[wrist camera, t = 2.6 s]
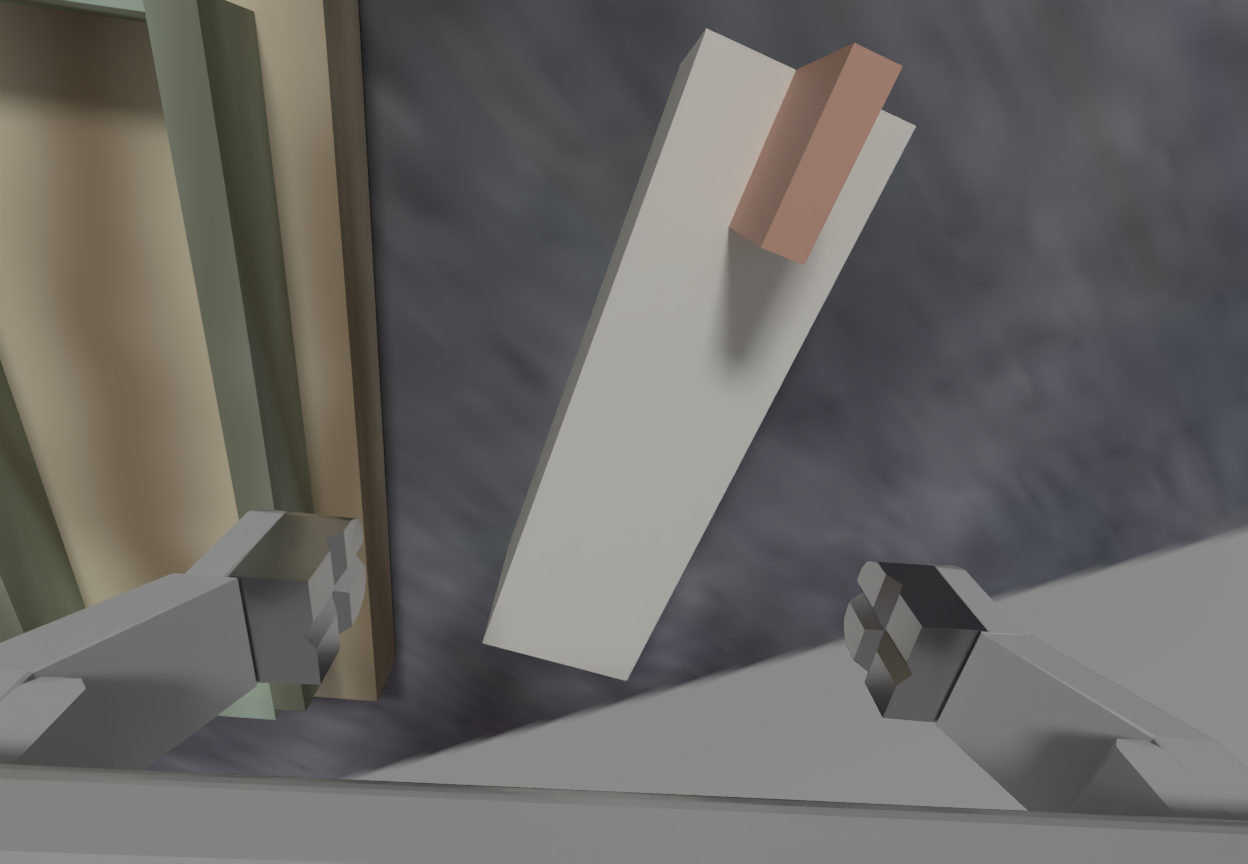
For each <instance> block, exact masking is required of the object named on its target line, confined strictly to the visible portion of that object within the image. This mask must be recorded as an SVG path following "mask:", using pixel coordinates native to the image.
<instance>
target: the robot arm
mask: <svg viewBox="0 0 1248 864" xmlns="http://www.w3.org/2000/svg"><path fill="white" fill-rule="evenodd" d="M362 544H363V533H362V524H361V523H360V522H359V520H358V519H357V518H348V517H338V516H329V515H319V514H309V513H299V512H287V511H278V510H266V509H255V510H251V511H248V512H247V513H246V514H245V515H244V516H243V517H242V518H241V519H240V520H239V521H238V522H237V523H236V524H235V525H234V526H233V527H232V528H231V529H230V530H229V531H228V532H227V533H226V534H225V535H224V536H222V537H221V538H220V539H219V540H218V541H217V542H216V543H215V544H214V545H213V546H212V547H211V548H210V549H209V550H208V551H207V552H206V553H205V554H204V555H203V556H202V557H201V558H200V559H199V560H198V561H197V562H196V563H195V564H194V565H193V566H192V567H191V568H190V569H189V570H188V571H187V572H186V573H185V574H178V573H172V574H169V575H167V576H164V577H162V578H159V579H157V580H154V581H152V582H150V583H147V584H145V585H142V586H140V587H137V588H135V589H132V590H130V591H127V592H125V593H122V594H120V595H117V596H115V597H112V598H110V599H108V600H105V601H103V602H100V603H98V604H95V605H93V606H90V607H88V608H85V609H83V610H80V611H78V612H75V613H73V614H70V615H68V616H66V617H63V618H61V619H58V620H56V621H53V622H51V623H48V624H46V625H43V626H41V627H38V628H36V629H33V630H31V631H28V632H26V633H24V634H21V635H19V636H16V637H14V638H11V639H9V640H6V641H4V642H1V643H0V864H1248V768H1247V767H1246V766H1245V765H1244V764H1243V763H1241V762H1240V761H1239V760H1238V759H1237V758H1236V757H1235V756H1234V755H1233V754H1232V753H1231V752H1230V751H1229V750H1228V749H1227V748H1225V747H1224V746H1223V745H1222V744H1221V743H1220V742H1218V741H1217V740H1215V739H1213V738H1211V737H1210V736H1208V735H1206V734H1204V733H1202V732H1201V731H1199V730H1197V729H1196V728H1194V727H1192V726H1190V725H1189V724H1187V723H1185V722H1183V721H1181V720H1180V719H1178V718H1176V717H1175V716H1173V715H1171V714H1169V713H1168V712H1166V711H1164V710H1162V709H1160V708H1159V707H1157V706H1155V705H1153V704H1152V703H1150V702H1148V701H1146V700H1145V699H1143V698H1141V697H1139V696H1138V695H1136V694H1134V693H1132V692H1131V691H1129V690H1127V689H1125V688H1124V687H1122V686H1120V685H1118V684H1117V683H1115V682H1113V681H1111V680H1110V679H1108V678H1106V677H1104V676H1102V675H1101V674H1099V673H1097V672H1096V671H1094V670H1092V669H1090V668H1089V667H1087V666H1085V665H1083V664H1081V663H1080V662H1078V661H1076V660H1075V659H1073V658H1071V657H1069V656H1067V655H1066V654H1064V653H1062V652H1061V651H1059V650H1057V649H1055V648H1054V647H1052V646H1050V645H1048V644H1046V643H1045V642H1043V641H1041V640H1039V639H1038V638H1036V637H1034V636H1031V635H1023V634H1022V633H1021V632H1020V631H1019V630H1018V628H1017V627H1016V626H1015V625H1014V624H1013V623H1012V622H1011V621H1010V620H1009V618H1008V617H1007V616H1006V615H1005V614H1004V613H1003V612H1002V611H1001V610H1000V608H999V607H998V606H997V605H996V604H995V603H994V602H993V601H992V600H991V598H990V597H989V596H988V595H987V594H986V593H985V592H984V591H983V590H982V588H981V587H980V586H979V585H978V584H977V583H976V582H975V581H974V580H973V578H972V577H971V576H970V575H969V574H968V573H967V572H966V571H965V570H963V569H961V568H959V567H957V566H949V565H929V564H927V565H918V564H903V563H889V562H874V561H868V562H867V563H866V564H865V565H864V566H863V567H862V569H861V571H860V574H859V577H858V579H857V582H858V584H859V587H860V589H861V591H862V593H860V594H859V595H858V596H857V597H855V598H854V599H853V600H852V601H850V602H849V605H848V608H847V611H846V615H845V618H844V636H845V640H846V644H847V648H848V650H849V652H850V654H851V656H852V658H853V660H854V661H855V662H856V663H858V664H859V665H860V666H862V667H863V668H864V669H865V670H867V671H868V674H867V677H866V680H865V684H866V686H867V688H868V690H869V692H870V694H871V695H872V698H873V700H874V702H875V703H876V705H877V707H878V709H879V711H880V713H881V715H882V717H883V718H892V719H904V720H915V721H926V722H937V723H936V726H937V727H938V728H940V729H941V730H942V731H943V732H944V733H945V734H946V735H947V736H948V737H949V738H950V739H951V740H952V741H954V742H955V743H956V744H957V745H958V746H959V747H960V748H961V749H962V750H964V752H966V754H968V755H969V756H970V757H971V758H972V759H973V760H974V761H975V762H976V763H977V764H979V766H980V767H982V768H983V769H984V770H985V771H986V772H987V773H988V774H989V775H990V776H991V777H992V778H993V779H995V780H996V781H997V782H998V783H999V784H1000V785H1001V786H1002V787H1003V788H1004V789H1005V790H1007V792H1009V793H1010V794H1011V795H1012V796H1013V797H1014V798H1015V799H1016V800H1017V801H1018V802H1019V803H1020V804H1022V805H1023V806H1024V807H1025V808H1026V809H1027V810H1028V811H1019V810H997V809H974V808H973V809H972V808H952V807H931V806H909V805H888V804H887V805H886V804H868V803H847V802H846V803H845V802H825V801H805V800H802V801H801V800H782V799H761V798H740V797H719V796H697V795H674V794H652V793H631V792H609V791H587V790H565V789H564V790H563V789H543V788H520V787H499V786H498V787H496V786H475V785H455V784H433V783H412V782H390V781H389V782H388V781H367V780H346V779H324V778H303V777H281V776H259V775H237V774H215V773H194V772H172V771H150V770H144V769H146V768H147V767H148V766H150V765H151V764H152V763H154V762H155V761H157V760H158V759H159V758H161V757H162V756H163V755H165V754H166V753H167V752H169V751H170V750H171V749H173V748H174V747H175V746H177V745H178V744H179V743H181V742H182V741H184V740H185V739H186V738H188V737H189V736H190V735H192V734H193V733H194V732H196V731H197V730H198V729H200V728H201V727H202V726H204V725H205V724H206V723H208V722H209V721H211V720H212V719H213V718H215V717H216V716H217V715H219V714H220V713H221V712H223V711H224V710H225V709H227V708H228V707H229V706H231V705H232V704H233V703H235V702H236V701H237V700H239V699H240V698H242V697H243V696H244V695H246V694H247V693H248V692H250V691H251V690H252V689H254V688H255V687H256V686H257V683H285V684H317V685H321V683H322V681H323V680H324V678H325V676H326V674H327V672H328V670H329V669H330V667H331V665H332V663H333V661H334V659H335V657H336V656H337V654H338V652H339V650H340V641H339V634H341V633H342V632H344V631H346V630H347V629H349V628H350V627H352V626H353V624H354V622H355V620H356V618H357V616H358V614H359V612H360V608H361V605H362V601H363V598H364V594H365V583H366V571H365V565H364V564H363V563H362V561H361V560H360V559H359V558H358V557H357V556H356V553H357V552H358V550H359V548H360V547H361V545H362Z"/></svg>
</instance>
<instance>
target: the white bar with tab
mask: <svg viewBox="0 0 1248 864" xmlns="http://www.w3.org/2000/svg"><path fill="white" fill-rule="evenodd" d="M902 67H903V66H901V65H899V64H897V63H895V62H893V61H891V60H889V59H887V58H885V57H883V56H881V55H879V54H876V53H874V52H872V51H870V50H868V49H866V48H864V47H862V46H860V45H858V44H856V43H853V44H851V45H849V46H847V47H845V48H842V49H840V50H838V51H836V52H834V53H832V54H829V55H827V56H825V57H823V58H821V59H819V60H817V61H814V62H812V63H810V64H808V65H806V66H804V67H802V68H799V69H797V70H795V69H793V68H790V67H788V66H786V65H784V64H782V63H780V62H778V61H775V60H773V59H771V58H769V57H767V56H765V55H763V54H760V53H758V52H756V51H754V50H752V49H750V48H748V47H745V46H743V45H741V44H739V43H737V42H735V41H732V40H730V39H728V38H726V37H724V36H722V35H720V34H717V33H715V32H713V31H711V30H709V29H707V28H706V30H705V31H704V32H703V34H702V35H701V37H700V38H699V39H698V41H697V42H696V44H695V45H694V46H693V48H692V49H691V50H690V52H689V53H688V55H687V56H686V57H685V59H684V60H683V62H682V63H681V64H680V67H679V70H678V73H677V75H676V78H675V81H674V84H673V87H672V89H671V92H670V95H669V98H668V101H667V103H666V106H665V109H664V112H663V115H662V118H661V120H660V123H659V126H658V129H657V132H656V134H655V137H654V140H653V143H652V146H651V148H650V151H649V154H648V157H647V160H646V162H645V165H644V168H643V171H642V174H641V176H640V179H639V182H638V185H637V188H636V190H635V193H634V196H633V199H632V202H631V204H630V207H629V210H628V213H627V216H626V218H625V221H624V224H623V227H622V230H621V232H620V235H619V238H618V241H617V244H616V246H615V249H614V252H613V255H612V258H611V260H610V263H609V266H608V269H607V272H606V274H605V277H604V280H603V283H602V286H601V288H600V291H599V294H598V297H597V300H596V302H595V305H594V308H593V311H592V314H591V316H590V319H589V322H588V325H587V328H586V330H585V333H584V336H583V339H582V342H581V344H580V347H579V350H578V353H577V356H576V359H575V361H574V364H573V367H572V370H571V373H570V375H569V378H568V381H567V384H566V387H565V389H564V392H563V395H562V398H561V401H560V403H559V406H558V409H557V412H556V415H555V417H554V420H553V423H552V426H551V429H550V431H549V434H548V437H547V440H546V443H545V445H544V448H543V451H542V454H541V457H540V459H539V462H538V465H537V468H536V471H535V473H534V476H533V479H532V482H531V485H530V487H529V490H528V493H527V496H526V499H525V501H524V504H523V507H522V510H521V513H520V515H519V518H518V521H517V524H516V527H515V529H514V532H513V535H512V538H511V541H510V543H509V547H508V550H507V554H506V558H505V561H504V565H503V569H502V572H501V576H500V580H499V583H498V587H497V591H496V594H495V598H494V602H493V605H492V609H491V613H490V616H489V620H488V624H487V627H486V631H485V635H484V638H483V642H482V643H484V644H487V645H491V646H495V647H499V648H503V649H506V650H510V651H514V652H518V653H522V654H526V655H529V656H533V657H537V658H541V659H545V660H548V661H552V662H556V663H560V664H564V665H567V666H571V667H575V668H579V669H583V670H587V671H590V672H594V673H598V674H602V675H606V676H609V677H613V678H617V679H621V680H625V681H627V679H628V677H629V675H630V673H631V672H632V670H633V668H634V666H635V664H636V662H637V660H638V658H639V656H640V654H641V652H642V650H643V649H644V647H645V645H646V643H647V641H648V639H649V637H650V635H651V633H652V631H653V629H654V627H655V626H656V624H657V622H658V620H659V618H660V616H661V614H662V612H663V610H664V608H665V606H666V604H667V603H668V601H669V599H670V597H671V595H672V593H673V591H674V589H675V587H676V585H677V583H678V581H679V580H680V578H681V576H682V574H683V572H684V570H685V568H686V566H687V564H688V562H689V560H690V558H691V557H692V555H693V553H694V551H695V549H696V547H697V545H698V543H699V541H700V539H701V537H702V535H703V534H704V532H705V530H706V528H707V526H708V524H709V522H710V520H711V518H712V516H713V514H714V512H715V511H716V509H717V507H718V505H719V503H720V501H721V499H722V497H723V495H724V493H725V491H726V489H727V488H728V486H729V484H730V482H731V480H732V478H733V476H734V474H735V472H736V470H737V468H738V466H739V465H740V463H741V461H742V459H743V457H744V455H745V453H746V451H747V449H748V447H749V445H750V443H751V442H752V440H753V438H754V436H755V434H756V432H757V430H758V428H759V426H760V424H761V422H762V420H763V419H764V417H765V415H766V413H767V411H768V409H769V407H770V405H771V403H772V401H773V399H774V397H775V396H776V394H777V392H778V390H779V388H780V386H781V384H782V382H783V380H784V378H785V376H786V374H787V373H788V371H789V369H790V367H791V365H792V363H793V361H794V359H795V357H796V355H797V353H798V351H799V350H800V348H801V346H802V344H803V342H804V340H805V338H806V336H807V334H808V332H809V330H810V328H811V327H812V325H813V323H814V321H815V319H816V317H817V315H818V313H819V311H820V309H821V307H822V305H823V304H824V302H825V300H826V298H827V296H828V294H829V292H830V290H831V288H832V286H833V284H834V282H835V281H836V279H837V277H838V275H839V273H840V271H841V269H842V267H843V265H844V263H845V261H846V259H847V258H848V256H849V254H850V252H851V250H852V248H853V246H854V244H855V242H856V240H857V238H858V236H859V235H860V233H861V231H862V229H863V227H864V225H865V223H866V221H867V219H868V217H869V215H870V213H871V212H872V210H873V208H874V206H875V204H876V202H877V200H878V198H879V196H880V194H881V192H882V190H883V189H884V187H885V185H886V183H887V181H888V179H889V177H890V175H891V173H892V171H893V169H894V167H895V166H896V164H897V162H898V160H899V158H900V156H901V154H902V152H903V150H904V148H905V146H906V144H907V143H908V141H909V139H910V137H911V135H912V133H913V131H914V129H915V127H916V126H915V125H913V124H911V123H909V122H906V121H904V120H902V119H900V118H898V117H896V116H894V115H891V114H889V113H887V112H885V111H883V110H881V109H882V107H883V105H884V103H885V101H886V99H887V97H888V95H889V93H890V91H891V89H892V87H893V85H894V83H895V81H896V79H897V77H898V75H899V73H900V71H901V69H902Z"/></svg>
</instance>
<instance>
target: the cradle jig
mask: <svg viewBox="0 0 1248 864" xmlns="http://www.w3.org/2000/svg"><path fill="white" fill-rule="evenodd" d="M255 509H266V510H278V511H287V512H299V513H309V514H319V515H329V516H338V517H348V518H357V519H358V520H359V522H360V523H361V524H362V533H363V544H362V545H361V547H360V548H359V550H358V552H357V553H356V556H357V557H358V558H359V559H360V560H361V561H362V563H363V564H364V565H365V571H366V583H365V594H364V598H363V601H362V605H361V608H360V612H359V614H358V616H357V618H356V620H355V622H354V624H353V626H352V627H350V628H349V629H347V630H346V631H344V632H342V633H341V634H339V641H340V650H339V652H338V654H337V656H336V657H335V659H334V661H333V663H332V665H331V667H330V669H329V670H328V672H327V674H326V676H325V678H324V680H323V681H322V683H321V685H317V684H285V683H257V686H256V687H255V688H254V689H252V690H251V691H250V692H248V693H247V694H246V695H244V696H243V697H242V698H240V699H239V700H237V701H236V702H235V703H233V704H232V705H231V706H229V707H228V708H227V709H225V710H224V711H223V712H221V713H220V714H219V715H217V716H230V717H244V718H257V719H271V720H276V719H277V717H278V715H279V714H280V712H281V710H290V711H303V712H305V711H306V709H307V708H308V706H309V704H310V702H311V700H312V699H313V697H326V698H339V699H352V700H365V701H378V698H379V696H380V694H381V692H382V689H383V687H384V685H385V682H386V680H387V678H388V676H389V673H390V671H391V669H392V666H393V664H394V662H395V643H394V625H393V607H392V590H391V572H390V554H389V537H388V519H387V501H386V483H385V466H384V448H383V430H382V413H381V395H380V377H379V360H378V342H377V324H376V306H375V289H374V271H373V253H372V236H371V218H370V200H369V183H368V165H367V147H366V129H365V112H364V94H363V76H362V59H361V41H360V23H359V6H358V0H0V643H1V642H4V641H6V640H9V639H11V638H14V637H16V636H19V635H21V634H24V633H26V632H28V631H31V630H33V629H36V628H38V627H41V626H43V625H46V624H48V623H51V622H53V621H56V620H58V619H61V618H63V617H66V616H68V615H70V614H73V613H75V612H78V611H80V610H83V609H85V608H88V607H90V606H93V605H95V604H98V603H100V602H103V601H105V600H108V599H110V598H112V597H115V596H117V595H120V594H122V593H125V592H127V591H130V590H132V589H135V588H137V587H140V586H142V585H145V584H147V583H150V582H152V581H154V580H157V579H159V578H162V577H164V576H167V575H169V574H172V573H178V574H185V573H186V572H187V571H188V570H189V569H190V568H191V567H192V566H193V565H194V564H195V563H196V562H197V561H198V560H199V559H200V558H201V557H202V556H203V555H204V554H205V553H206V552H207V551H208V550H209V549H210V548H211V547H212V546H213V545H214V544H215V543H216V542H217V541H218V540H219V539H220V538H221V537H222V536H224V535H225V534H226V533H227V532H228V531H229V530H230V529H231V528H232V527H233V526H234V525H235V524H236V523H237V522H238V521H239V520H240V519H241V518H242V517H243V516H244V515H245V514H246V513H247V512H248V511H251V510H255Z"/></svg>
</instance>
